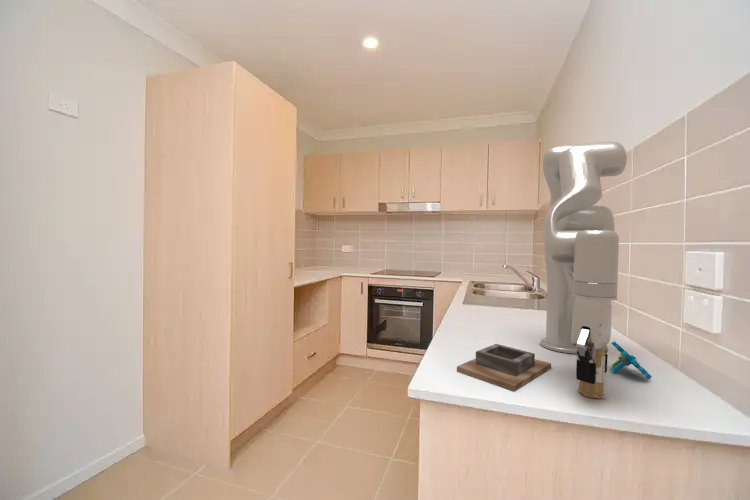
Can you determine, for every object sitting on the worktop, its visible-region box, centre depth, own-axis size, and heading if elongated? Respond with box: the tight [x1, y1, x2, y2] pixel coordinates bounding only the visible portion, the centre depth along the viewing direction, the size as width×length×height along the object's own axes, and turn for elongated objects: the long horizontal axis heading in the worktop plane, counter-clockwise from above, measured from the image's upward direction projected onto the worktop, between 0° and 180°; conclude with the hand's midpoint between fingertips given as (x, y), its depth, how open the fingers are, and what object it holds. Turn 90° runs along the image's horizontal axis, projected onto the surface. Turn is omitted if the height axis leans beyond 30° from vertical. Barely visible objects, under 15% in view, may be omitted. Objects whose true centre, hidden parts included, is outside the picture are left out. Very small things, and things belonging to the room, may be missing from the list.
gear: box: [610, 340, 653, 380], centre depth 79 cm, size 11×6×10 cm
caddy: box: [456, 343, 552, 392], centre depth 80 cm, size 20×14×4 cm
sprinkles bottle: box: [577, 338, 607, 400], centre depth 67 cm, size 5×5×13 cm
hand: (591, 375), depth 67 cm, fingers open, 7 cm apart
